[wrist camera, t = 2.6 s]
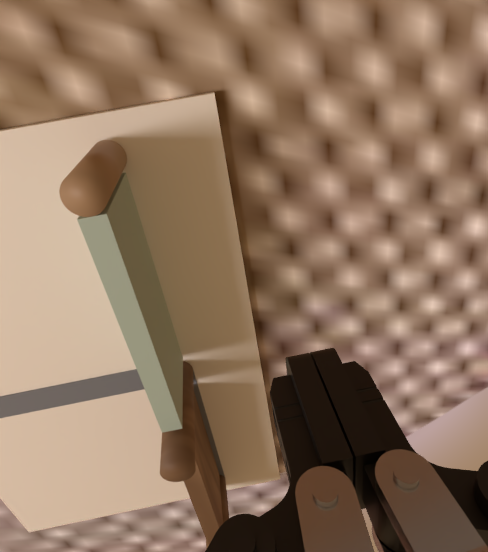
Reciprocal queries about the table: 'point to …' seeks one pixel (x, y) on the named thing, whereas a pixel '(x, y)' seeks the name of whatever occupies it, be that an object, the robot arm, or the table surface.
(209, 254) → the card
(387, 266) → the table surface
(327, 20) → the table surface
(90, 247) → the hinged fence section
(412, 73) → the table surface
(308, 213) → the table surface
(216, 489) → the fence
